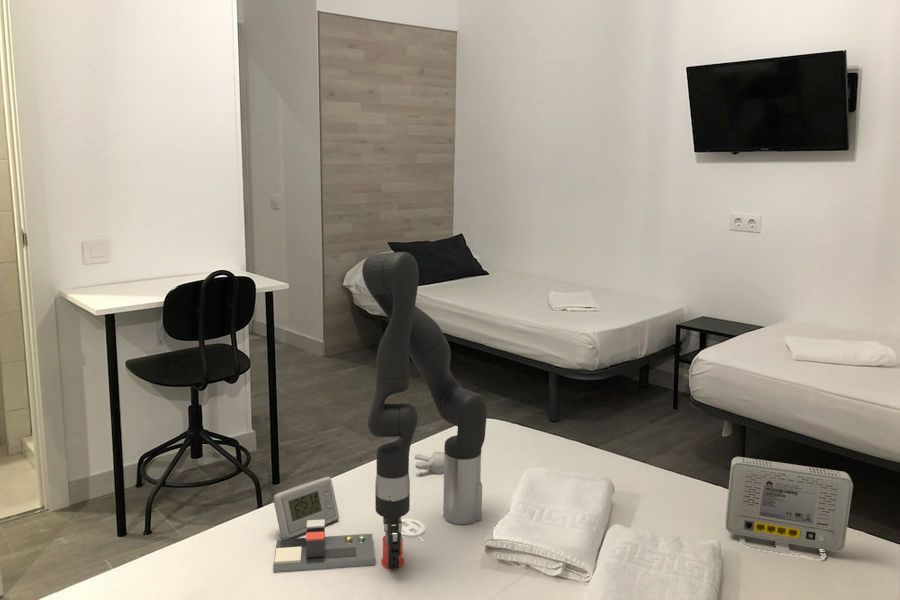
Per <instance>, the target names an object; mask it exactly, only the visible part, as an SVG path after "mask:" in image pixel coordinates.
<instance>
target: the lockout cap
mask: <svg viewBox="0 0 900 600" xmlns="http://www.w3.org/2000/svg"><path fill="white" fill-rule="evenodd" d="M388 539H389V537H388ZM403 541H404V540H403V536H401V546H400V552H401V554H400V556H399V568H398V569H400V568H401V567H403V566H404V563H405V561H404V560H405V559H404V557H403V545H404V544H403V543H404V542H403ZM392 549H394V548H392ZM387 551H388V544H387V543H386V541H385V535H384V536H383V537H382V558H381V565H382V567H383V568H385V569H388V570H390V569H389V567H388V552H387Z"/></svg>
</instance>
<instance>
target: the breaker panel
mask: <svg viewBox="0 0 900 600" xmlns="http://www.w3.org/2000/svg"><path fill="white" fill-rule="evenodd" d="M373 537H374V536H373V533H361V534H348V535H347V534H346V535H331V536H325V556H323V557H309V558H306V537H300V538H297V537H296V538H289V539H282V538H281V539H276V544H275V552H274V555H275V554H276V548H287V547H302V550H301V563H287V564H274V563H273V564H272V566H273V569H272V570H273V573H283V572H287V573H288V572H299V571H313V570H314V571H315V570H325V569H340V568H353V567H354V568H355V567H368V566H375V565H376V562H375V561H376V559H375V548H374V539H373ZM274 561H275V556H274V558H273V562H274Z"/></svg>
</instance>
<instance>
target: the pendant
mask: <svg viewBox="0 0 900 600" xmlns="http://www.w3.org/2000/svg"><path fill="white" fill-rule="evenodd" d="M401 521H402V529H401V536H402V537H405V538H417V537H418V538H419V539H420V541H421V542H426V539H425V538H422V537H421V536H422V535H423V534H425V531H426V530H425V528H426V527H425V525H424V523H422V522H421V521H419V520H416V519H412V518H403V519H402V518H401ZM404 524H405V525H406V526H404ZM412 531H415V532H412Z"/></svg>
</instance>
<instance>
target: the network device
mask: <svg viewBox="0 0 900 600" xmlns="http://www.w3.org/2000/svg"><path fill="white" fill-rule="evenodd" d="M853 488H854V484H853V481H852V478H851V476H850V475H849V474H848V473H847V472H846V471H840V470H833V469H828V468H821V467H813V466H807V465H798V464H793V463H792V464H791V463H785V462H778V461H771V460H765V459H755V458H750V457H743V456H735V457H733V458H732V459H731V464H730V472H729V482H728V492H727V500H726V502H727V503H726V509H725V528H726V530H727V531H728V533H730V534H733V535H738V540H740V542H741V543H742V544H743V545H745V546H748V547H750V548H755V549H761V550H766V551H773V552H778V553H785V554H786V553H787V554H791V553H796V554H799V555H798V556H800V555H806V556H808V557H812V558H814V559H822V558H820V556H814V555H810V554H809V555H808V554H804V553H797V552H794V551H791V550H790V544H791V545H798V546H803V547H808V548H813V549H818V548H819V549H824V550H825V551H832V552H842V551H843V550H844V548H845V544H846V537H847V530H848V522H849V518H850V517H849V516H850V509H851V502H852V496H853ZM746 537H750V538H757V539H763V540H768V541H773V542H774V541H775V544H774V548H770V547H764V546H759V545H758V546H757V545H751V544H749V543H747V542H746ZM740 542H739V543H740ZM775 546H776V548H775ZM824 550H823V551H824ZM820 553H822V554H824V553H825V552H820ZM820 553H819V554H820ZM796 554H792V555H796ZM822 554H821V556H823V557H824V556H825V555H822Z"/></svg>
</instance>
